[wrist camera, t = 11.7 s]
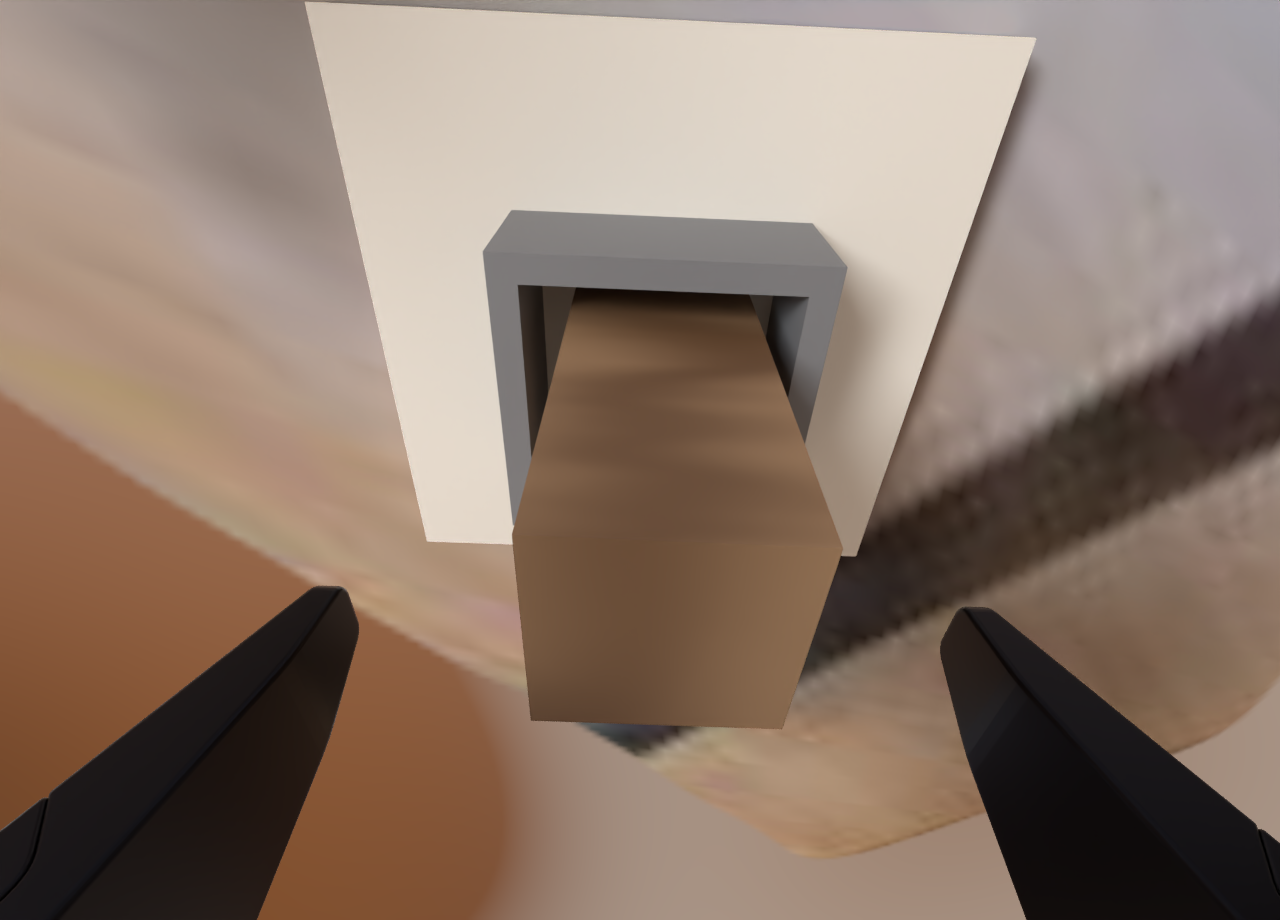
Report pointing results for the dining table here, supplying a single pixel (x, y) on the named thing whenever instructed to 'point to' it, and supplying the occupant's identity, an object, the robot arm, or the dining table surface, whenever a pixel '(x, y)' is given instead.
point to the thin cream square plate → (652, 213)
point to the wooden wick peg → (669, 520)
